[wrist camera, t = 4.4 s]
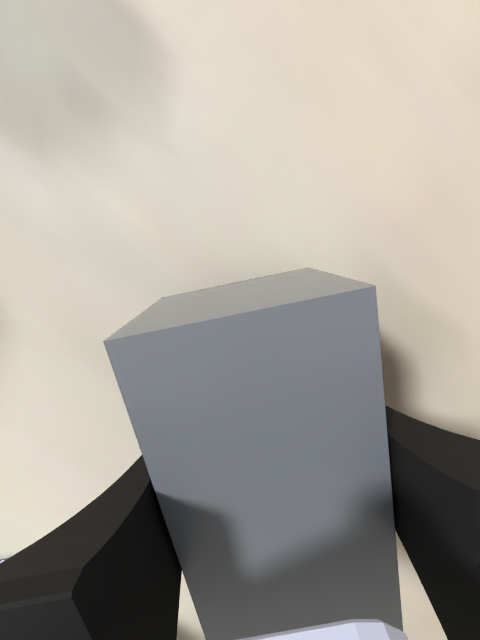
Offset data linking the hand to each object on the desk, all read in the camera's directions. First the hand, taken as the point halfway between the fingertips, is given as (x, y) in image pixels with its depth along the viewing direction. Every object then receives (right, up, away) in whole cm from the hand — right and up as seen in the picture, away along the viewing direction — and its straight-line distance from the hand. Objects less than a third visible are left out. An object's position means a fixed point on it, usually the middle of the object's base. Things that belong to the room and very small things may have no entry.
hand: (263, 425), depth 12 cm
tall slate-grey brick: (0, 0, +1) cm, 2 cm away
